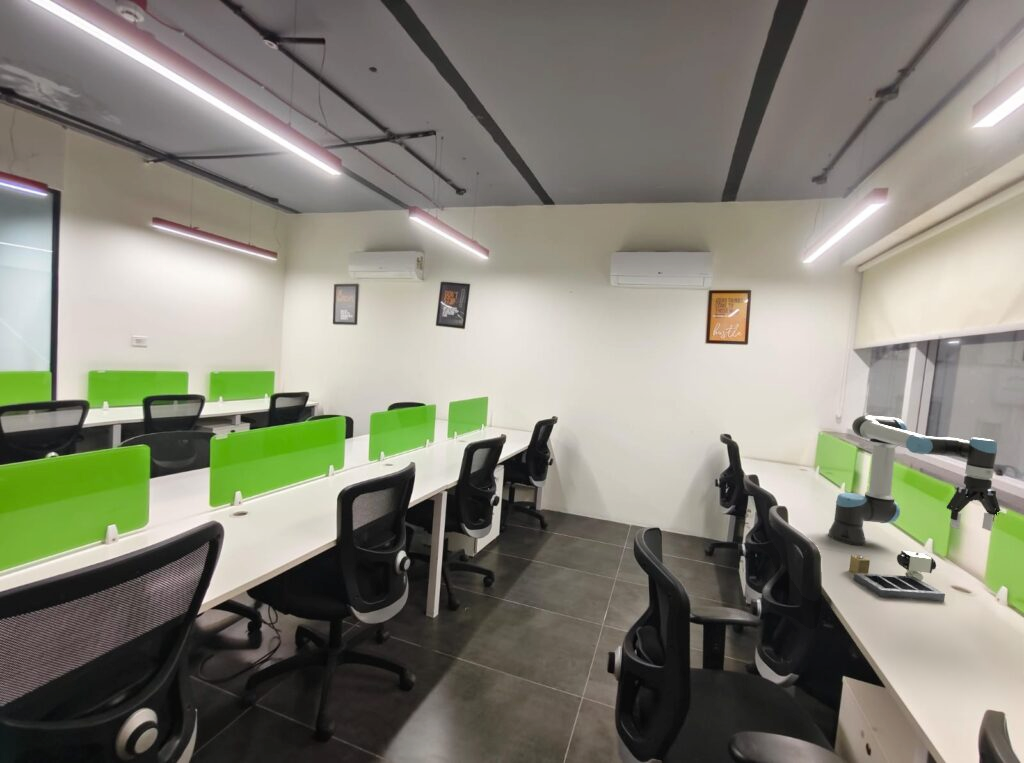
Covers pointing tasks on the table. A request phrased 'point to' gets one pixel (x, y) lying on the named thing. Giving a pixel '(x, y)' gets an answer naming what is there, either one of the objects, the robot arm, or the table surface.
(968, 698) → the table surface
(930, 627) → the table surface
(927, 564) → the white security camera
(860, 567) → the tan rectangular block
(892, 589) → the grey slotted tray
